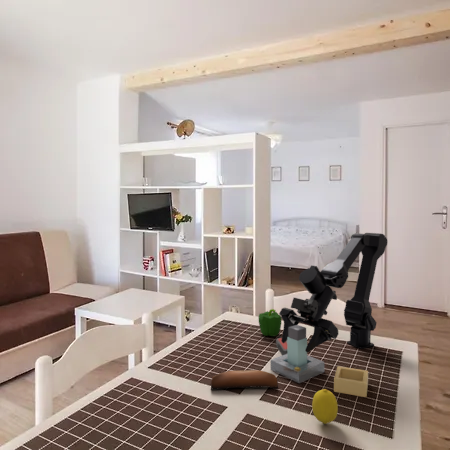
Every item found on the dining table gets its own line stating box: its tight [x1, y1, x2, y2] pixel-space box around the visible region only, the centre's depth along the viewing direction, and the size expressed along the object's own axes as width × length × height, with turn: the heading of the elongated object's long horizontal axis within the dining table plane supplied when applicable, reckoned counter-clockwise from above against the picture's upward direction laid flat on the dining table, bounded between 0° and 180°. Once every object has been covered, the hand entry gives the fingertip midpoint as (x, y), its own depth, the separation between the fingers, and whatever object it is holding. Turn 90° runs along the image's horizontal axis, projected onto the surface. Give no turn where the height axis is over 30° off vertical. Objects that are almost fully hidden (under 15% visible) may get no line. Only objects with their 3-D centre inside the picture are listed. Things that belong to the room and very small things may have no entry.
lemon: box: [311, 388, 339, 425], centre depth 86 cm, size 6×6×8 cm
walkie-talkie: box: [275, 337, 287, 356], centre depth 131 cm, size 9×4×20 cm
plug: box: [287, 324, 308, 367], centre depth 113 cm, size 4×4×13 cm
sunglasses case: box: [210, 369, 279, 391], centre depth 106 cm, size 18×7×7 cm
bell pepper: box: [258, 308, 282, 337], centre depth 144 cm, size 8×8×10 cm
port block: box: [270, 354, 325, 384], centre depth 113 cm, size 11×11×3 cm
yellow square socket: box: [333, 365, 369, 398], centre depth 103 cm, size 8×8×4 cm
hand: (294, 346), depth 112 cm, fingers open, 9 cm apart
